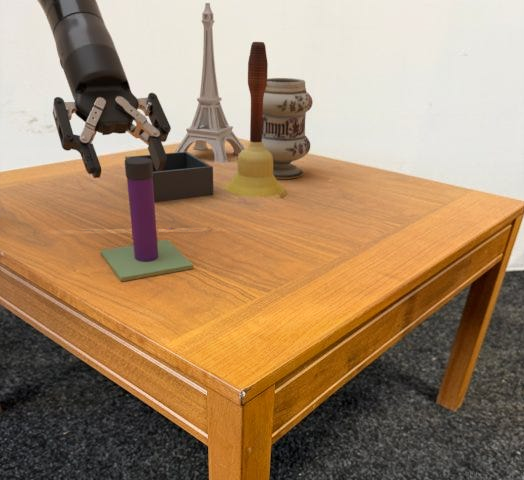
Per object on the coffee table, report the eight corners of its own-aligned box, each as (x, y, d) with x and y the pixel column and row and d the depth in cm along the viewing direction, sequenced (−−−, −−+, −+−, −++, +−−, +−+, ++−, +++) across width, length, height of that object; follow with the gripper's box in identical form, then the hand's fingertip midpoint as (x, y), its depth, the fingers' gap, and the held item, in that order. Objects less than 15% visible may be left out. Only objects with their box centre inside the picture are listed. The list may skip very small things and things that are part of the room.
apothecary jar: (265, 163, 123) (268, 74, 114) (315, 170, 119) (323, 79, 110) (242, 175, 114) (243, 79, 104) (296, 184, 110) (302, 85, 100)
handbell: (239, 179, 112) (240, 38, 98) (295, 187, 108) (305, 42, 94) (211, 195, 102) (208, 41, 89) (272, 205, 98) (279, 46, 85)
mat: (121, 282, 70) (120, 277, 70) (100, 253, 78) (100, 249, 77) (193, 268, 74) (193, 264, 74) (167, 243, 82) (167, 239, 81)
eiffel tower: (197, 146, 135) (193, 2, 118) (247, 153, 131) (250, 4, 114) (170, 158, 124) (162, 1, 108) (224, 165, 120) (223, 4, 104)
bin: (149, 207, 95) (146, 173, 92) (128, 188, 104) (125, 156, 101) (213, 199, 100) (213, 166, 97) (188, 181, 109) (187, 151, 106)
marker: (133, 262, 74) (123, 163, 67) (134, 252, 77) (125, 156, 70) (158, 261, 74) (151, 163, 67) (159, 252, 77) (152, 157, 70)
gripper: (36, 41, 66) (78, 160, 65) (147, 41, 73) (188, 149, 71) (34, 84, 73) (72, 193, 71) (136, 80, 80) (173, 180, 78)
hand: (130, 171), depth 71 cm, fingers open, 8 cm apart
